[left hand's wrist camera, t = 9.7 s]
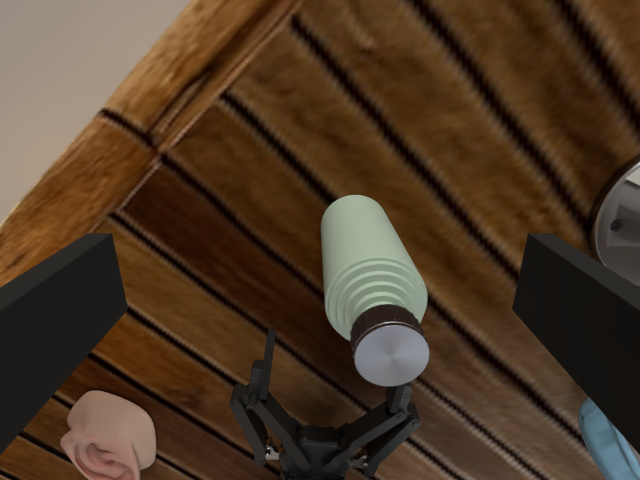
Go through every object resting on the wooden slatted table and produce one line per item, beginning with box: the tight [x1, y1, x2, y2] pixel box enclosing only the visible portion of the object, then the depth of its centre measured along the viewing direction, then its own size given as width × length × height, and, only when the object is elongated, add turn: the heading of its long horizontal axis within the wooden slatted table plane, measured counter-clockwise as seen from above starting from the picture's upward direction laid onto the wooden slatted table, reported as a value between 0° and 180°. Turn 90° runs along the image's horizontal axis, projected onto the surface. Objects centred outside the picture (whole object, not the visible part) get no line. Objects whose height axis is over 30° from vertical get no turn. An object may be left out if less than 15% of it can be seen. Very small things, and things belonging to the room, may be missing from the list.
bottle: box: [321, 195, 427, 341], centre depth 31 cm, size 7×7×20 cm
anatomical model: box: [60, 390, 156, 480], centre depth 48 cm, size 13×4×12 cm
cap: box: [350, 304, 429, 386], centre depth 22 cm, size 4×4×2 cm
